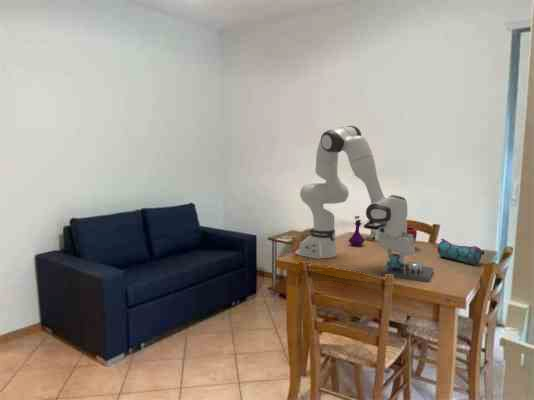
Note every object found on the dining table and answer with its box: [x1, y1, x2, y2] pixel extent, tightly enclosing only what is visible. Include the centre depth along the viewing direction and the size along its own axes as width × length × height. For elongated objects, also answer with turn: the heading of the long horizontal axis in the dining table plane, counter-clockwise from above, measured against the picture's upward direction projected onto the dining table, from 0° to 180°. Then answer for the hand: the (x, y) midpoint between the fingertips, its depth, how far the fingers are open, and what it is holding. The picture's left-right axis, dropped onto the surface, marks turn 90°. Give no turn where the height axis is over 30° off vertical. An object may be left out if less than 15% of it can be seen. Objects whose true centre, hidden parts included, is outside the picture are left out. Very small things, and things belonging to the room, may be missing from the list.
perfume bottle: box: [348, 215, 365, 247], centre depth 234 cm, size 8×8×18 cm
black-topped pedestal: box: [363, 219, 386, 242], centre depth 250 cm, size 28×26×13 cm
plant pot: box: [407, 226, 418, 243], centre depth 227 cm, size 13×13×12 cm
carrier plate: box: [380, 261, 434, 283], centre depth 181 cm, size 20×16×6 cm
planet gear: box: [386, 253, 405, 268], centre depth 183 cm, size 8×8×5 cm
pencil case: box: [436, 238, 485, 266], centre depth 201 cm, size 21×9×10 cm, turn 34°
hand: (395, 260), depth 183 cm, fingers closed on planet gear, 5 cm apart
